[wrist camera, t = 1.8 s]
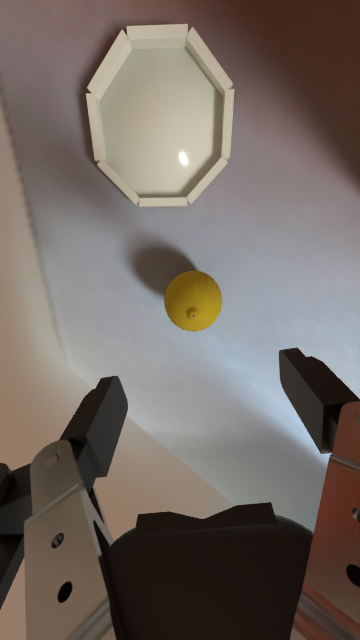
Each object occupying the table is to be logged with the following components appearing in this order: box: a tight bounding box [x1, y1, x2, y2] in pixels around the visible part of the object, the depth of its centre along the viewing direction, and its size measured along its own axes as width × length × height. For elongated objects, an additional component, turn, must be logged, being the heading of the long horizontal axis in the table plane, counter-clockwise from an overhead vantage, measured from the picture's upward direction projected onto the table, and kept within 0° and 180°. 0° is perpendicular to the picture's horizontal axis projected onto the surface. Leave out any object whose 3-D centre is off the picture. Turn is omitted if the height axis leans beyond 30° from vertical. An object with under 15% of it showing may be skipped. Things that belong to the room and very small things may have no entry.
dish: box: [86, 24, 234, 207], centre depth 19 cm, size 12×12×2 cm
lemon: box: [164, 271, 222, 331], centre depth 22 cm, size 6×6×8 cm
